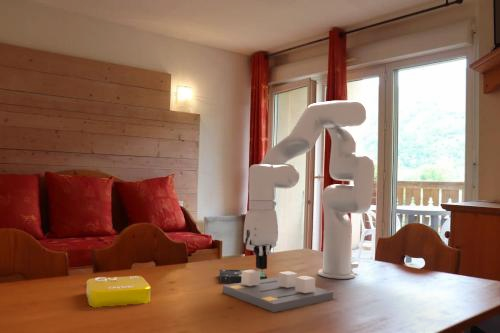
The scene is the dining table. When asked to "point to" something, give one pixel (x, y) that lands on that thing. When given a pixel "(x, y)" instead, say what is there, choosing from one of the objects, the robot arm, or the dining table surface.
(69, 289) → the dining table surface
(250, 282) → the tab
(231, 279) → the disk drive
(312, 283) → the tab
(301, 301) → the switch board
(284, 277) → the tab
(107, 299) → the element tile
